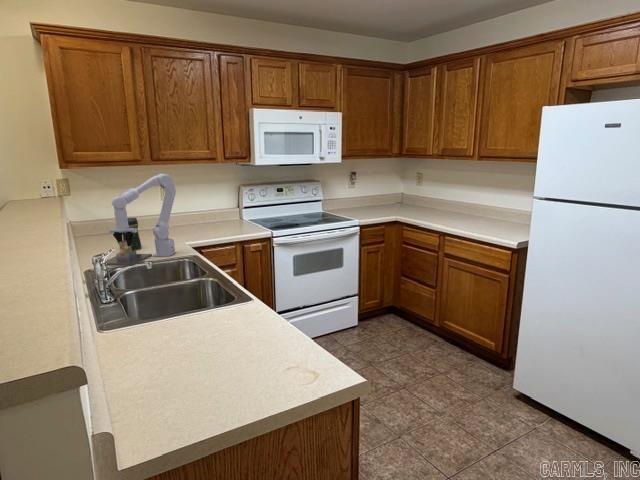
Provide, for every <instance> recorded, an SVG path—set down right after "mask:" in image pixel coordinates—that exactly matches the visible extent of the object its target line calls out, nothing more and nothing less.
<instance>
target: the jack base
mask: <svg viewBox="0 0 640 480" xmlns="http://www.w3.org/2000/svg"><path fill="white" fill-rule="evenodd" d="M115 255H116V256H113V257H111V258H109V259H106V260H107V261H106V260H105V261H106V263H107V265H106V266H136V265H138V264H140V263H141V262H144V261H145V259H146V260H147V259H150V258H152V257H153V253H138V252H137V250H132V252H131V253H129V254H120V252H117V253H116V254H115ZM143 260H144V261H143Z"/></svg>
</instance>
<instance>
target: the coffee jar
mask: <svg viewBox="0 0 640 480" xmlns="http://www.w3.org/2000/svg"><path fill="white" fill-rule="evenodd" d="M127 219H128V226H129V228H137V232H136V233H134V235H133V237H132V242H131V248H132V251H137V250H140V249H142V246H143V245H142V242H141V238H140V234H139V230H138V227H139V221H138V219H137V217H127ZM125 233H127V232H123V234H122V240H123V241H127V240H126V237H125V235H124V234H125Z"/></svg>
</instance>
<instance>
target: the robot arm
mask: <svg viewBox="0 0 640 480" xmlns="http://www.w3.org/2000/svg"><path fill="white" fill-rule="evenodd" d="M152 187H161V188H162V189H163V191H164V192H165V194H164V198H163V200H162V205H161V209H160V213H159V217H158V220H157V222H156V225H155V226H154V228H153V229H152V234H153V235H154V247H155V253H154V254H152V257H169V256H170V257H171V256H172V255H174V254H176V253H177V252H176V247H175V242H174V241H175V240H174V239H173V238H169V234H170V232H169V226H170V225H169V221H170V218H171V213H172V208H173V205H174V202H175V198H176V193H177V190H176V187H175V184H174V179H173V178H172V177H171V176H170V175H169V174H167V173H158V174H157V175H154V176H152V177H150V178H149V179H148V180H146V181H145V182H143V183H142V184H140V185H139V186H138V187H135V188H132V187H131V188H127V189H126V191H124V192H123V193H121V194H118V196H117V197H113V199H112V201H111V206H113V210H114V220H115V227H116V228H114V227H113V228H108V232H109V234H112V236H113V237H114V238H115V240H116V242H117V244H118V245H119V242H121V241H123V232H127V233H125V234H124V235H125V237H126V240H127V245H128V246H131V242H132V237H133V235H134V233H136V232H137V228H129V226H128V219H127V218H128V213H127V212H128V211H127V209H126V207H127V206H128V205H129V204H130V203H132V202H134V201H135V200H137V199H138V198H140V194H141V193H143V192H145V191H147V190H148V189H151V188H152Z"/></svg>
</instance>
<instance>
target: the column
mask: <svg viewBox="0 0 640 480" xmlns="http://www.w3.org/2000/svg"><path fill="white" fill-rule="evenodd" d="M118 246H119V253H120V254H129V253H131V252H132V251H133V250H132V248H131V246H128V245H127V241H121V242H119V244H118Z"/></svg>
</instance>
